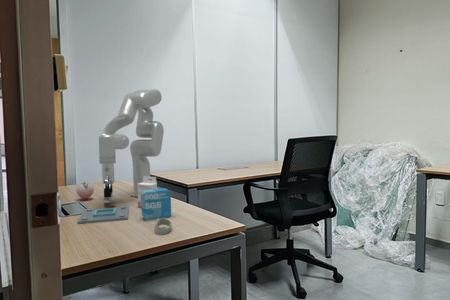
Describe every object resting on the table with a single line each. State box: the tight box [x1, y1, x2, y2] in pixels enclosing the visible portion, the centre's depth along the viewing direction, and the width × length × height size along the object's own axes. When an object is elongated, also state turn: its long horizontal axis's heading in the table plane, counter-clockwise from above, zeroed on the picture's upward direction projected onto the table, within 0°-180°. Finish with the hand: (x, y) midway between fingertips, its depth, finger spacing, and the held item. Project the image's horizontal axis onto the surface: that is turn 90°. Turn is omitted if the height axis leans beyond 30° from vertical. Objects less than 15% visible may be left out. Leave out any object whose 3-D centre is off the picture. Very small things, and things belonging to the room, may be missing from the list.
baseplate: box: [76, 205, 130, 225], centre depth 154 cm, size 20×20×2 cm
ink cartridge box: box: [137, 176, 158, 208], centre depth 168 cm, size 9×5×15 cm, turn 65°
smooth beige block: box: [103, 193, 117, 208], centre depth 169 cm, size 5×5×6 cm
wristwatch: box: [154, 218, 173, 235], centre depth 131 cm, size 9×6×5 cm
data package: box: [140, 187, 172, 221], centre depth 149 cm, size 12×4×12 cm, turn 114°
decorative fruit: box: [75, 181, 95, 200], centre depth 187 cm, size 9×8×10 cm
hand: (108, 195), depth 168 cm, fingers open, 9 cm apart
